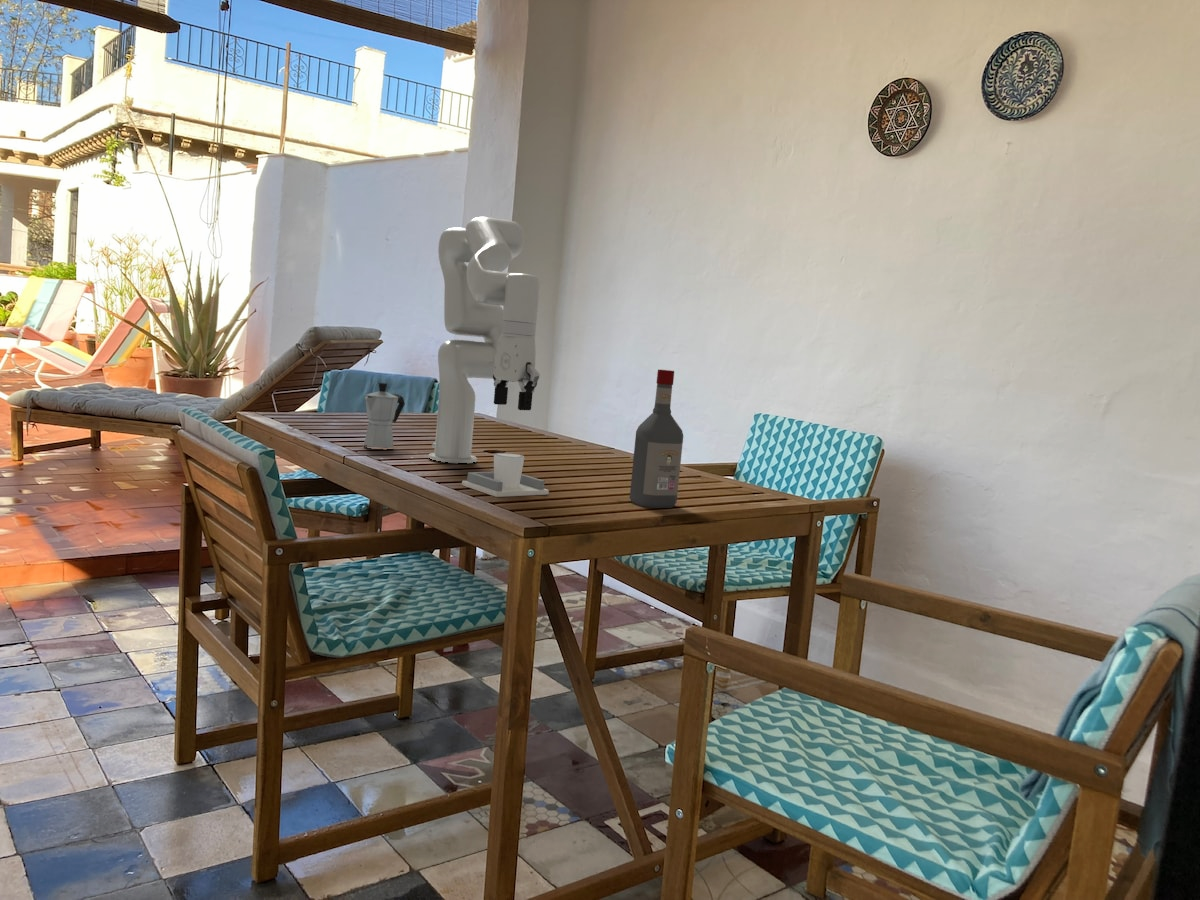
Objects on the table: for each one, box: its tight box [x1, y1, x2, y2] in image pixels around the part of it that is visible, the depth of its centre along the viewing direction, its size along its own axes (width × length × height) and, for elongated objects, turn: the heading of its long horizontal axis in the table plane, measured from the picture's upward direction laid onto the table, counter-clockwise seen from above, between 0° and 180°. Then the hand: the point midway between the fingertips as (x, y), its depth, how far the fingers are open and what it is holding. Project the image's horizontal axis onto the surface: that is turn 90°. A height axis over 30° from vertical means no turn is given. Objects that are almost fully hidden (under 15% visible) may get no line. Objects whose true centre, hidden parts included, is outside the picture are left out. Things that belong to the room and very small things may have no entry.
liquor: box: [629, 369, 684, 509], centre depth 208 cm, size 9×9×30 cm
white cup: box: [493, 452, 525, 488], centre depth 210 cm, size 7×7×7 cm
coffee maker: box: [363, 382, 405, 448], centre depth 258 cm, size 15×9×18 cm, turn 148°
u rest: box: [461, 471, 550, 498], centre depth 211 cm, size 14×14×3 cm
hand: (512, 407), depth 210 cm, fingers open, 9 cm apart
